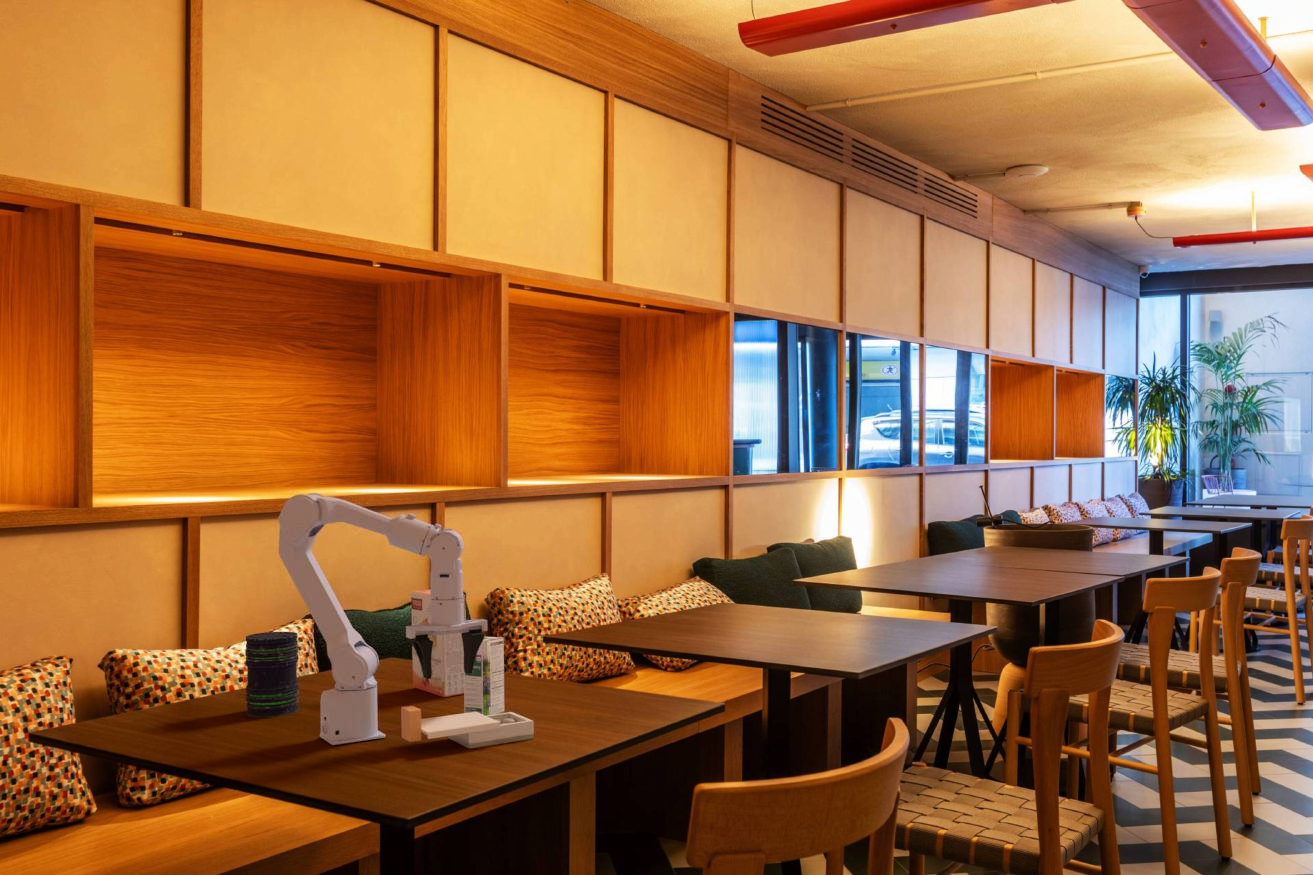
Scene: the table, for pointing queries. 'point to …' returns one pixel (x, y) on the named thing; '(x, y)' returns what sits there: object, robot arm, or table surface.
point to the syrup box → (486, 679)
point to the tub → (499, 731)
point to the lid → (442, 724)
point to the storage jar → (271, 674)
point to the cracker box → (438, 653)
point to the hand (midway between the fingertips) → (448, 675)
